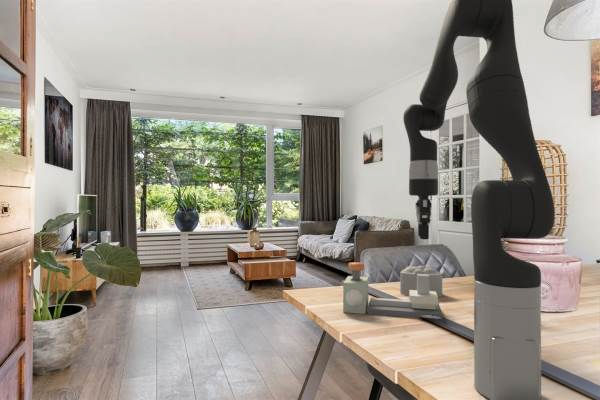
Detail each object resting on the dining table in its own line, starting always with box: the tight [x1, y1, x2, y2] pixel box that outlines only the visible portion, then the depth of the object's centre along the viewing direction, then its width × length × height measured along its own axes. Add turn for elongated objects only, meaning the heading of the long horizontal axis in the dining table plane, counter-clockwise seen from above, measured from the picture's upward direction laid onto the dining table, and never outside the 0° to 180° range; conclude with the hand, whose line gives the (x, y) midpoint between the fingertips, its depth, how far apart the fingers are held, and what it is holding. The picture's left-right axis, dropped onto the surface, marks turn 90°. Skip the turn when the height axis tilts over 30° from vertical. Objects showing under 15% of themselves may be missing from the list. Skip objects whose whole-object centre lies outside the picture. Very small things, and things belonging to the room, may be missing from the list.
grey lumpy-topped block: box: [399, 265, 443, 298], centre depth 126 cm, size 10×13×9 cm
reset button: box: [348, 261, 365, 281], centre depth 107 cm, size 4×4×7 cm
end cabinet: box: [342, 275, 370, 315], centre depth 107 cm, size 10×6×8 cm, turn 165°
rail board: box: [366, 297, 444, 319], centre depth 104 cm, size 10×19×3 cm, turn 75°
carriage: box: [408, 274, 439, 310], centre depth 103 cm, size 7×7×8 cm
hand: (423, 237), depth 103 cm, fingers open, 8 cm apart
